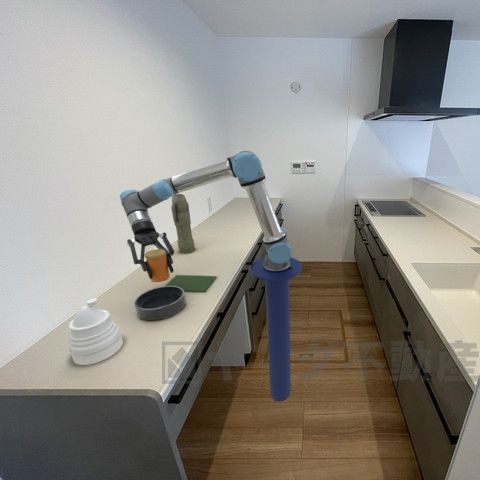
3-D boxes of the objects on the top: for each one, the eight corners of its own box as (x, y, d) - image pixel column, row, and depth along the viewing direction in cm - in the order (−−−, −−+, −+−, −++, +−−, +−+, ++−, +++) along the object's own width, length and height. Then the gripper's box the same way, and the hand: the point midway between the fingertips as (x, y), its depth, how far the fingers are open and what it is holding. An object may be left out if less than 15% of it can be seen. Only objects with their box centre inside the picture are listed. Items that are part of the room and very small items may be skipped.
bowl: (193, 297, 116) (191, 286, 114) (172, 322, 100) (170, 310, 98) (154, 296, 116) (151, 285, 114) (127, 321, 100) (124, 309, 98)
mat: (216, 277, 133) (216, 276, 133) (205, 292, 120) (204, 291, 120) (177, 276, 133) (176, 275, 133) (161, 290, 120) (161, 289, 120)
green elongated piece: (199, 247, 168) (191, 193, 155) (188, 255, 157) (179, 197, 144) (186, 246, 169) (177, 192, 156) (174, 254, 158) (164, 196, 145)
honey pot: (119, 330, 95) (107, 287, 88) (126, 350, 86) (112, 304, 80) (71, 348, 86) (54, 301, 80) (73, 372, 78) (54, 322, 71)
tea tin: (173, 274, 108) (168, 249, 104) (164, 282, 102) (159, 256, 98) (157, 273, 108) (151, 248, 104) (146, 282, 102) (140, 256, 98)
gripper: (167, 224, 116) (186, 270, 111) (112, 234, 102) (132, 286, 98) (169, 215, 110) (189, 263, 105) (111, 224, 97) (132, 279, 92)
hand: (162, 274), depth 101 cm, fingers closed on tea tin, 7 cm apart
